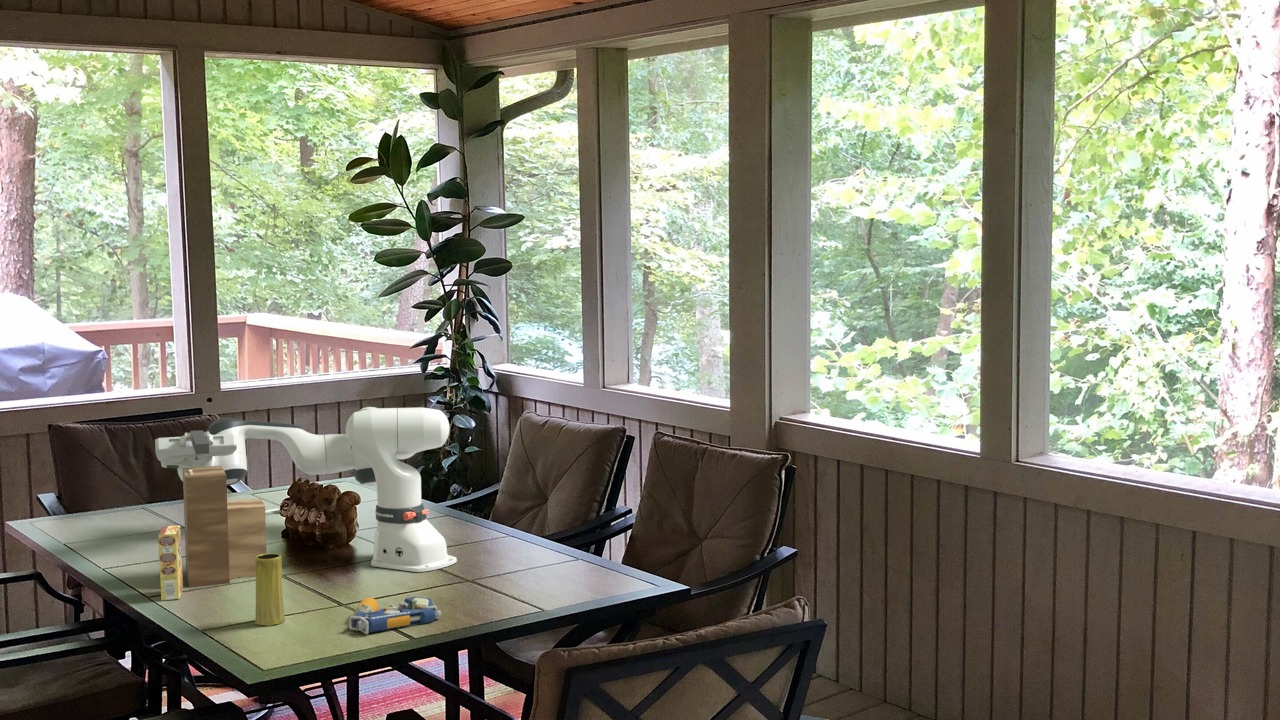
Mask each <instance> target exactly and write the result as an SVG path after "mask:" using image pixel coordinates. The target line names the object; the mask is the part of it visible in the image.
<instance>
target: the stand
mask: <svg viewBox="0 0 1280 720" xmlns="http://www.w3.org/2000/svg"><path fill="white" fill-rule="evenodd" d="M182 485H183V487H182V489H183V515H184V517H183V518H184V520H183V521H184V541H185V542H184V543H185V568H186V569H185V570H186V571H185V572H186V577H187V583H188V582H189V583H188V585H189V588H193V587H194V586H196V587H203V586H215V585H223V584H224V585H225V584H230V580H231V579H239V578H238V577H242V578H250V577H249V576H252V577H256V564H255V557H256V556H258V555H261V554H267V553H268V552H267V525H266V524H267V521H266V512H265V510H266V505H265V504H264V502H263V500H262V499H261V498H253V499H252V498H251V499H240V500H237V499H236V500H228V493H227V491H228V489H227V487H228V486H227V482H226V474H225V472H224V470H223V468H222V466H209V467H194V468H183V481H182ZM194 588H195V587H194Z"/></svg>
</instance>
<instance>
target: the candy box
mask: <svg viewBox="0 0 1280 720" xmlns="http://www.w3.org/2000/svg"><path fill="white" fill-rule="evenodd" d="M157 540H158V557H159V559H158V560H159V577H160V596H161V597H160V598H161V599H160V600H161V601H171V600H179V599H180V598H181V596H182V593H183V590H184V585H183V584H184V581H183V565H182V564H183V562H182V560H183V559H182V539H181V525H169V526H168V525H166V526H162V527H161V530H160V531H159V533H158V534H157Z"/></svg>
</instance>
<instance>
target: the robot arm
mask: <svg viewBox="0 0 1280 720" xmlns="http://www.w3.org/2000/svg"><path fill="white" fill-rule="evenodd" d="M450 429H451V428H450V422H449V419H448V417H447V416H446V414H445V413H444V412H443V411H442V410H441V409H435V408H429V407H418V406H417V407H383V408H382V407H379V408H378V407H374V406H367V407H363V408H361V409H359V410H356V411H354V412H353V413H352V414H351V415H350V416H349V418H348V420H347V422H346V425H345V434H343V433H340V434H339V433H332V434H331V433H328V434H315V433H311V432H308V431H306V430H305V429H304V427H302V426H301V425H298V424H294V423H293V424H291V423H285V422H284V423H282V422H272V421H271V422H270V421H259V420H258V421H256V420H255V421H254V420H247V419H246V420H245V419H239V418H234V417H220V418H217V419H215V420H214V421H213V422H212V423H211V424H210V425H209V427H208V428H207V430H206V431H203V432H204V434H205V436H206V438H207V441H208V443H209V454H196V453H195V450H194V447H193V445H192V442H191V432H184V435H182V436H174V437H173V436H171V437H170V436H169V437H158V438H155V439H154V445H155V455H156V458H157V460H158V461H159V462H160V464H161V467H162V468H165V469H175V470H177V474H178V476H179V478H180V480H181V481H182V482H183V468H194V467H209V466H222V468H223V470H224V472H225V474H226V482H227V487H229V486H233V485H235V484H237V483H239V482H240V481H241V480H242V479H244V478H245V477H246V476H247V473H248V459H247V452H246V451H247V450H246V448H247V447H246V440H247V439H257V440H258V439H259V440H260V439H262V440H274V441H277V442H279V443H281V444H282V445H283V446H284V447H285V448H286V450H287V452H288V453H289V456H290V457H291V459H292V461H293V463H294V464H295V467H297V468H298V469H299V470H300V471H301V472H303V473H304V474H308V475H315V476H316V475H327V474H337V473H341V472H346V471H347V472H348V471H350V470H353V469H354V471H352V472H350V473H349V474H350V475H351V476H354V478H355V480H356V481H357V482H358V483H359V484H360V485H364V486H367V487H373V488H374V487H376V496H377V497H376V498H377V504H376V505H375V511H374V513H375V520H377V521H376V522H377V525H376V529H375V532H374V543H373V553H372V558H371V561H370V566H371V567H375V568H376V567H377V568H384V569H391V570H399V571H405V572H415V573H424V572H428V571H429V572H430V571H435V570H439V569H444V568H445V567H449V566H451V565H454V564H455V563H457V562H458V560H457V556H453V555H450V554H448V549H447V542H446V539H445V537H444V536H443V535H442V534H441V533H440V532H439V531H438V530H437V529H436V527H434V526H433V524H431V523H430V522H429V521H428V519H427V518H428V515H427V514H430V512H428V511H430V509H429V508H425V506H424V503H422V476H421V474H420V473H419V470H417V469H416V468H415V467H414V466H412V465H409V464H407V463H405V462H402V460H407V459H409V458H411V457H413V456H414V455H416V454H417V453H420V452H424V451H427V450H433V449H438V448H441V447H443V446H444V445H445V443H446V442H447V440H448V438H449V435H450ZM400 460H401V461H400Z"/></svg>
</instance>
